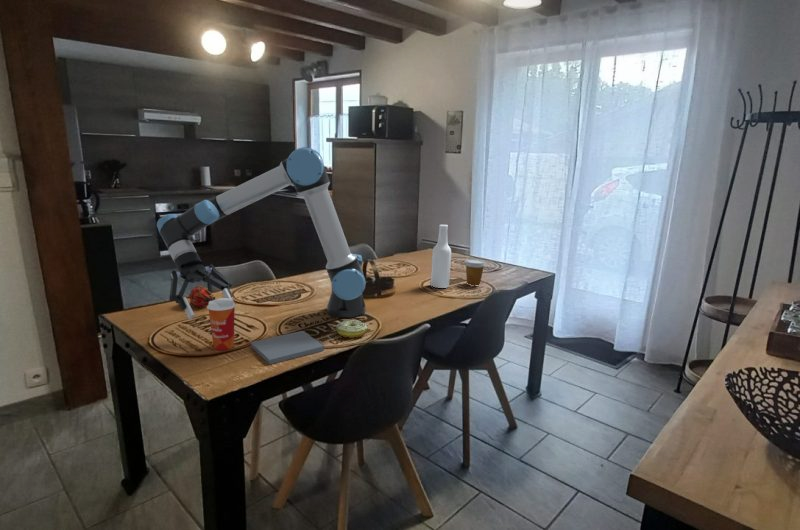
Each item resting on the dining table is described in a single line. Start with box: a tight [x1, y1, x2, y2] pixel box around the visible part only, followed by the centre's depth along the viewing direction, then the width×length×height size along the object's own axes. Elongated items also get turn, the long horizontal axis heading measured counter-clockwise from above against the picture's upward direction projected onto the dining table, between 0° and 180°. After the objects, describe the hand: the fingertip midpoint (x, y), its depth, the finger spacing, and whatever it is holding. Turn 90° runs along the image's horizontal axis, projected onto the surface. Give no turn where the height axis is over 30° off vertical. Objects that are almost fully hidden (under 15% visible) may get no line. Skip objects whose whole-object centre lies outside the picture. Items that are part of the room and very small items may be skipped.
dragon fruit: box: [188, 285, 216, 309], centre depth 178 cm, size 8×8×12 cm
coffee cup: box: [206, 297, 236, 351], centre depth 142 cm, size 8×8×15 cm
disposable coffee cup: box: [464, 258, 486, 285], centre depth 223 cm, size 10×10×12 cm
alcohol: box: [430, 224, 452, 289], centre depth 215 cm, size 9×9×30 cm
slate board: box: [250, 330, 325, 365], centre depth 144 cm, size 18×15×2 cm
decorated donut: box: [335, 319, 368, 339], centre depth 158 cm, size 10×11×4 cm
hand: (212, 312), depth 143 cm, fingers open, 13 cm apart
